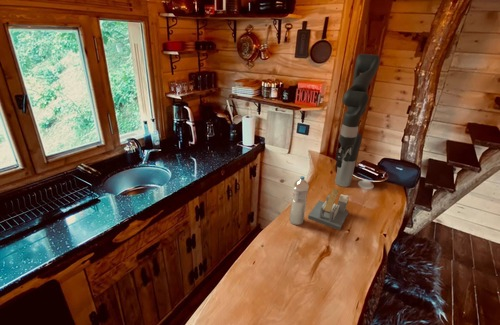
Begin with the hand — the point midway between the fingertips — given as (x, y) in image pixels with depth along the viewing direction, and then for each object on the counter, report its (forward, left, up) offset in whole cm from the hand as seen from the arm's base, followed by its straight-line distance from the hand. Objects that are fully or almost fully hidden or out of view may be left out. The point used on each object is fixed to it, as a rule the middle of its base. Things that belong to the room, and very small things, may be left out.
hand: (342, 164), depth 137 cm
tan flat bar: (+10, 0, -16) cm, 19 cm away
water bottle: (+23, -12, -26) cm, 37 cm away
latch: (+4, +5, -18) cm, 19 cm away
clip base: (+10, 0, -26) cm, 28 cm away
